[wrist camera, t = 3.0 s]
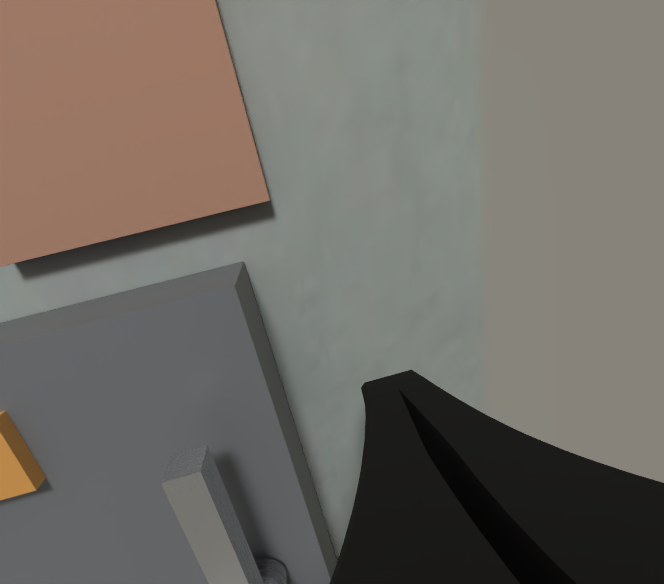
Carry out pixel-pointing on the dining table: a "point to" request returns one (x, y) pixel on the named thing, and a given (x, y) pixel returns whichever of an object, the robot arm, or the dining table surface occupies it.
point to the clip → (213, 522)
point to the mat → (117, 122)
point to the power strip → (147, 436)
